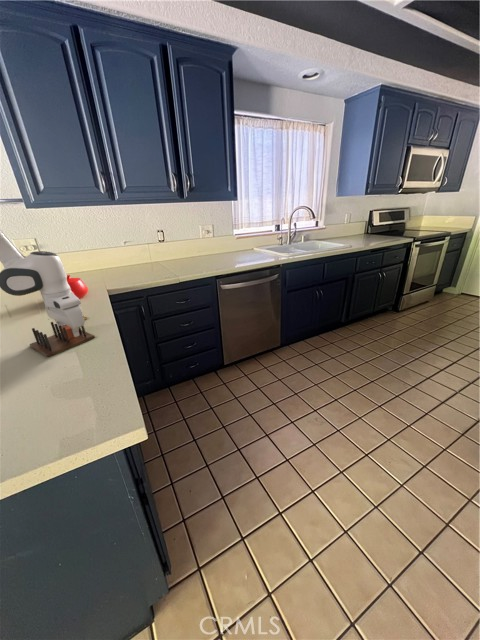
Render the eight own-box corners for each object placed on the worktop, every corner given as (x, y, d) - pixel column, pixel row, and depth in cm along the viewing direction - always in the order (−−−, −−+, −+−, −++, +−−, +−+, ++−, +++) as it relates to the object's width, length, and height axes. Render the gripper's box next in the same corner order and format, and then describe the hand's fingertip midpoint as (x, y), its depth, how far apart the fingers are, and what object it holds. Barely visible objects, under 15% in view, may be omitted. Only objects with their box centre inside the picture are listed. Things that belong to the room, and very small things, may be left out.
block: (68, 339, 97) (65, 329, 95) (63, 337, 99) (59, 327, 97) (79, 335, 100) (76, 325, 98) (74, 332, 102) (71, 323, 100)
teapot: (59, 293, 151) (52, 272, 146) (89, 289, 157) (84, 269, 152) (53, 307, 131) (45, 283, 126) (88, 302, 137) (82, 279, 132)
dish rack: (48, 357, 88) (41, 338, 85) (30, 346, 95) (23, 329, 92) (94, 337, 100) (89, 321, 97) (75, 329, 107) (70, 313, 104)
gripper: (35, 295, 96) (47, 330, 102) (63, 306, 85) (75, 343, 91) (54, 291, 101) (65, 324, 106) (82, 300, 90) (92, 336, 96)
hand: (69, 333), depth 99 cm, fingers open, 8 cm apart
